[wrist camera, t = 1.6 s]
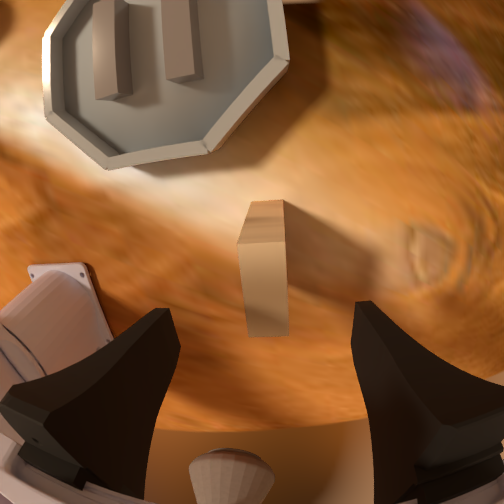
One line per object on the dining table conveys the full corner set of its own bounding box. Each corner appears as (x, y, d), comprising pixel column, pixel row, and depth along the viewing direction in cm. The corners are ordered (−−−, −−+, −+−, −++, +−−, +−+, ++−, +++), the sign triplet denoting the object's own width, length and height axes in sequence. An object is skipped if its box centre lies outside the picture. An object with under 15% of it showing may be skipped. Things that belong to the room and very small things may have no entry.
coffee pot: (279, 474, 35) (274, 559, 21) (205, 471, 36) (189, 551, 23) (259, 394, 26) (244, 539, 13) (152, 392, 28) (106, 511, 14)
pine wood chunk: (286, 270, 21) (289, 335, 14) (258, 271, 21) (248, 337, 14) (282, 199, 19) (284, 241, 12) (251, 201, 19) (236, 244, 12)
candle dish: (295, 143, 17) (298, 147, 14) (74, 175, 19) (50, 185, 16) (268, -63, 11) (266, -86, 8) (65, -4, 12) (43, -13, 10)
